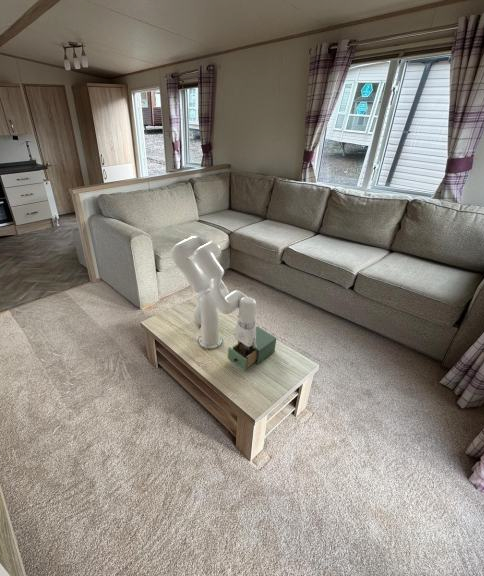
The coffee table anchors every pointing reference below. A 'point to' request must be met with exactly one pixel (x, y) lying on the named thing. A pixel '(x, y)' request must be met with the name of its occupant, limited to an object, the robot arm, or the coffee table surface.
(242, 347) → the block
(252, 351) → the drawer
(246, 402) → the coffee table surface
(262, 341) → the cabinet
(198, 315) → the soap bottle
